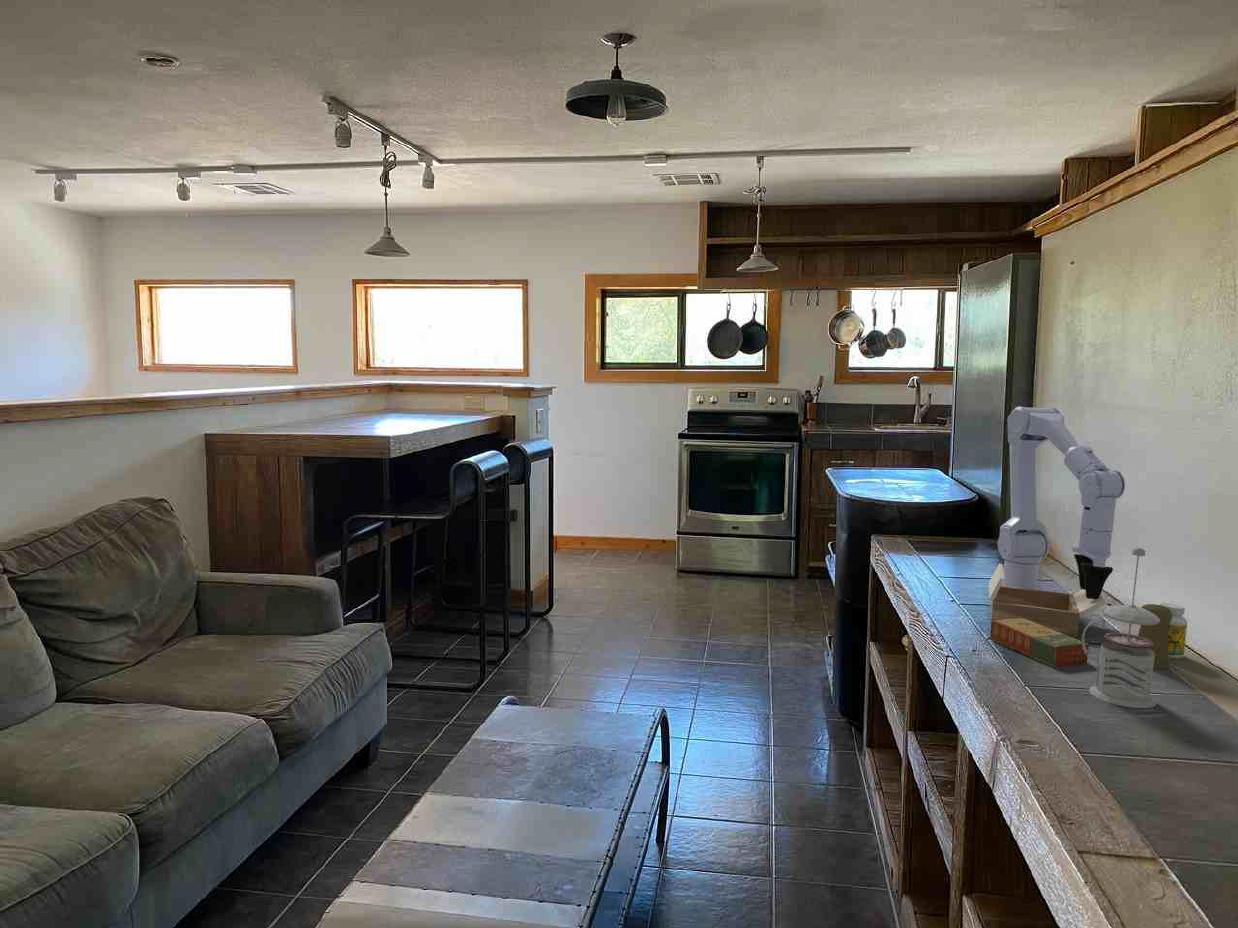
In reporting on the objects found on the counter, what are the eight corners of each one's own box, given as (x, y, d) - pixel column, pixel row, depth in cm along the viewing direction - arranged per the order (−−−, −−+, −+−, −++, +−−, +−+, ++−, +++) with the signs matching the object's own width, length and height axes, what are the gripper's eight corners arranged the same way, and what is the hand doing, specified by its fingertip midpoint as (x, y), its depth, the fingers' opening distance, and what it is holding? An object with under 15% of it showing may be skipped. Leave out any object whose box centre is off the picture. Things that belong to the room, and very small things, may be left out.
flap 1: (992, 584, 199) (988, 582, 199) (1002, 564, 198) (999, 563, 198) (993, 600, 185) (989, 599, 186) (1004, 579, 184) (1000, 577, 185)
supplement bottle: (1184, 654, 172) (1190, 605, 171) (1182, 661, 168) (1188, 611, 167) (1152, 647, 175) (1157, 599, 174) (1148, 654, 171) (1154, 605, 170)
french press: (1155, 713, 142) (1174, 557, 139) (1073, 695, 148) (1089, 546, 145) (1157, 694, 150) (1175, 547, 147) (1079, 678, 156) (1095, 537, 153)
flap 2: (1095, 583, 191) (1097, 586, 191) (1073, 594, 193) (1075, 597, 193) (1103, 600, 178) (1106, 603, 178) (1079, 612, 180) (1082, 615, 180)
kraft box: (990, 606, 200) (992, 584, 200) (1070, 616, 194) (1072, 594, 194) (990, 625, 186) (993, 602, 185) (1077, 637, 180) (1080, 613, 179)
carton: (1022, 637, 180) (1024, 616, 179) (1088, 665, 165) (1091, 642, 164) (988, 640, 177) (990, 619, 176) (1053, 668, 162) (1055, 645, 161)
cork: (1155, 671, 162) (1162, 611, 160) (1123, 660, 167) (1130, 602, 165) (1176, 667, 164) (1183, 608, 163) (1144, 656, 170) (1150, 599, 168)
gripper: (1069, 520, 192) (1062, 583, 193) (1080, 533, 178) (1072, 600, 180) (1106, 524, 189) (1099, 587, 191) (1120, 537, 176) (1112, 604, 178)
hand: (1089, 593), depth 185 cm, fingers open, 7 cm apart
